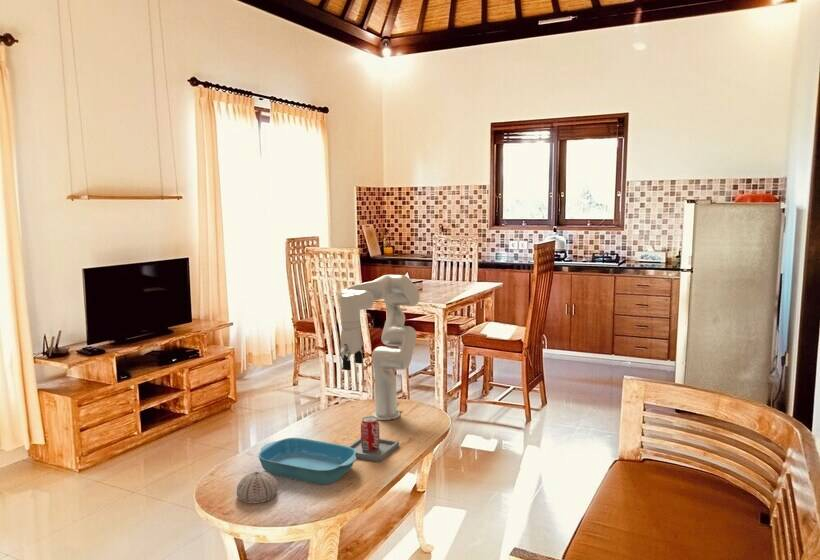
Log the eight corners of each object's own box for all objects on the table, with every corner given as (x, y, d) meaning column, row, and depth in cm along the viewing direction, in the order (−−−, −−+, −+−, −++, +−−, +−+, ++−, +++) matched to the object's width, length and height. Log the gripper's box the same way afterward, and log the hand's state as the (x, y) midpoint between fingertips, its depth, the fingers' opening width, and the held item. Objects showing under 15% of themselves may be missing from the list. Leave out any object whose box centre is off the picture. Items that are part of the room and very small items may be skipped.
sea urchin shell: (270, 507, 186) (269, 483, 185) (228, 505, 188) (227, 481, 187) (284, 488, 199) (283, 465, 198) (245, 486, 201) (244, 463, 200)
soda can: (380, 445, 232) (380, 415, 230) (378, 453, 225) (377, 422, 223) (362, 445, 232) (362, 415, 231) (359, 452, 225) (359, 422, 224)
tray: (363, 440, 239) (363, 435, 239) (399, 446, 233) (398, 441, 232) (342, 455, 225) (342, 450, 225) (379, 462, 218) (379, 457, 218)
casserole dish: (368, 466, 215) (368, 447, 215) (337, 493, 195) (336, 472, 194) (283, 451, 230) (283, 433, 229) (246, 475, 210) (245, 456, 209)
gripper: (353, 319, 245) (355, 359, 248) (331, 329, 230) (333, 371, 232) (369, 320, 242) (371, 361, 245) (348, 330, 227) (350, 373, 229)
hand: (353, 366), depth 239 cm, fingers open, 9 cm apart
